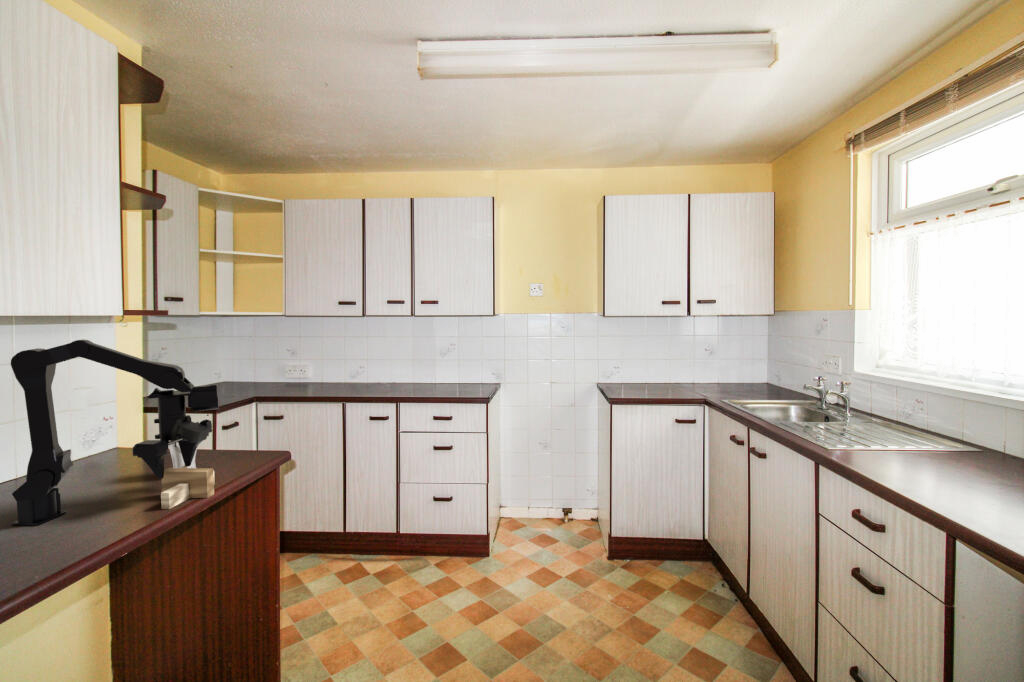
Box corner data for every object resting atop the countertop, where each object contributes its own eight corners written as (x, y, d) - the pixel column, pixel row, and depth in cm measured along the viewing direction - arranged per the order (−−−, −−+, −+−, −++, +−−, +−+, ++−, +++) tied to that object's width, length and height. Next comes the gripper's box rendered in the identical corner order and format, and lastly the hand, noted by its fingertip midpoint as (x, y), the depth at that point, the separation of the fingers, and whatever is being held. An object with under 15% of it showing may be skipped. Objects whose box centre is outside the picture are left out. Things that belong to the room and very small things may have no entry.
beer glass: (194, 477, 130) (191, 427, 129) (165, 480, 128) (163, 429, 127) (202, 470, 136) (200, 421, 135) (175, 472, 134) (173, 423, 133)
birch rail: (169, 509, 109) (168, 493, 108) (161, 508, 109) (160, 492, 108) (214, 484, 125) (214, 470, 124) (207, 484, 125) (207, 470, 124)
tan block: (207, 498, 115) (206, 471, 115) (162, 497, 116) (161, 471, 115) (214, 494, 118) (213, 468, 117) (169, 493, 118) (168, 468, 118)
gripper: (174, 422, 106) (177, 485, 107) (226, 406, 125) (228, 460, 126) (128, 422, 106) (132, 485, 107) (187, 406, 125) (190, 460, 126)
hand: (174, 472), depth 117 cm, fingers open, 9 cm apart
